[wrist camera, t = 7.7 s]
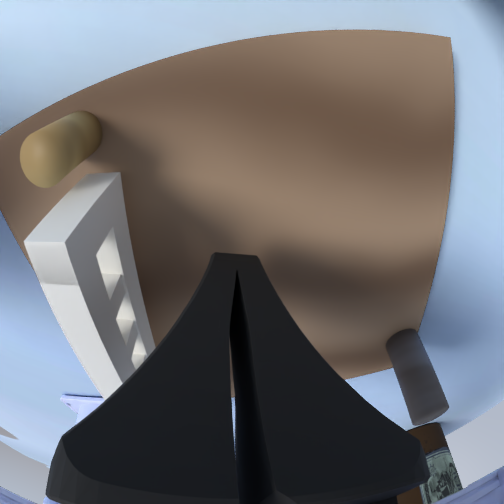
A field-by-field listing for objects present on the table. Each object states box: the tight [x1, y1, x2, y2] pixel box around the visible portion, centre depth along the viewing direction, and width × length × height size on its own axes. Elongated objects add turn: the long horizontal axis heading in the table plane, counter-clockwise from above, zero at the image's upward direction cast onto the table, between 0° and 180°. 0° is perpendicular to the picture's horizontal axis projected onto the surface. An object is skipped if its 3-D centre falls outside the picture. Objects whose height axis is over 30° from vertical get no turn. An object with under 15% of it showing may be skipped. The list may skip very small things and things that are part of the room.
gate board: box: [0, 30, 455, 425], centre depth 11 cm, size 18×18×6 cm
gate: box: [24, 172, 156, 400], centre depth 10 cm, size 11×1×4 cm, turn 177°
